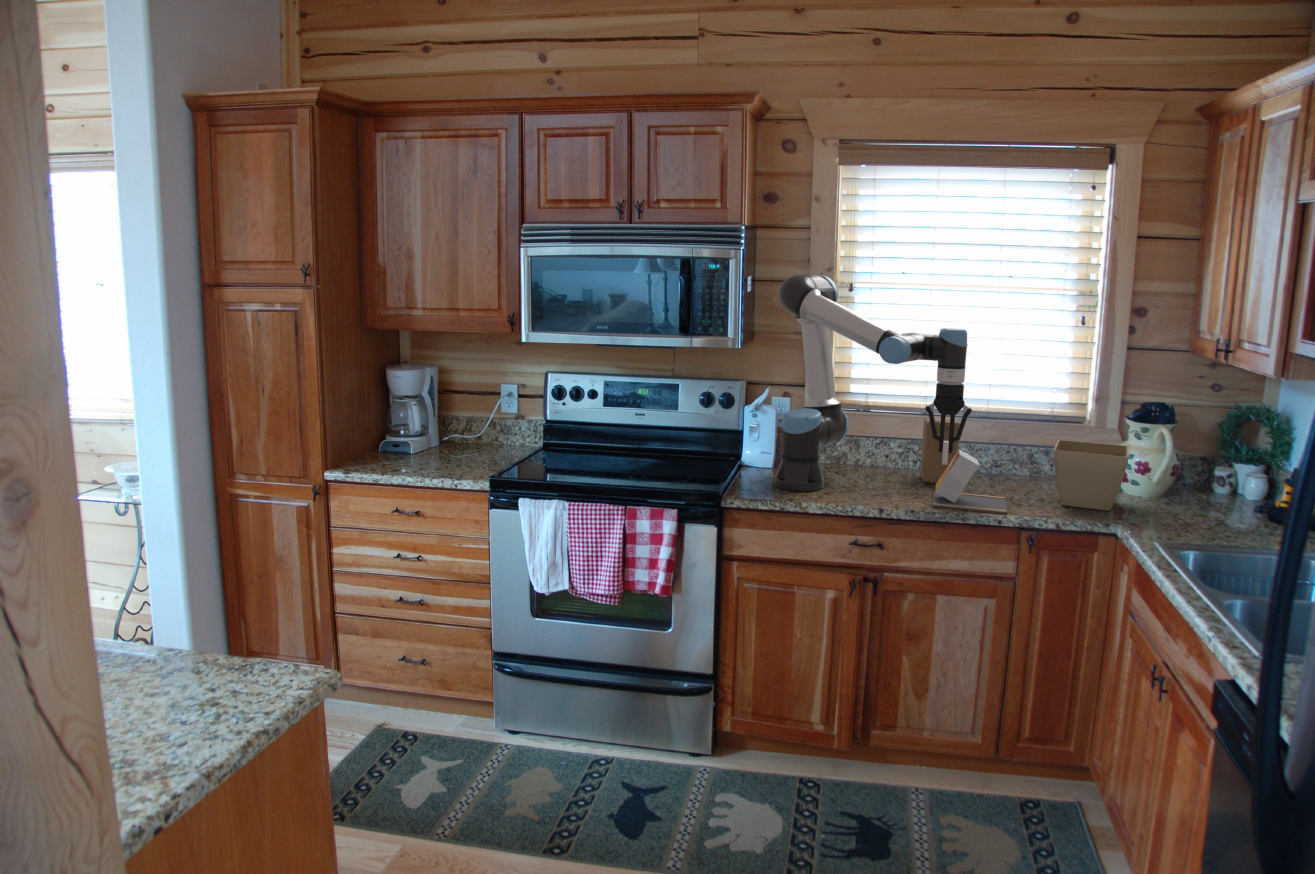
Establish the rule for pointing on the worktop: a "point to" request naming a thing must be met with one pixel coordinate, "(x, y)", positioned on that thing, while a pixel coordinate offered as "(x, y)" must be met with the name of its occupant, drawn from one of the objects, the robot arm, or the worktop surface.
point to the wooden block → (935, 450)
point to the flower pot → (1089, 473)
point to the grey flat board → (972, 503)
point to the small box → (956, 476)
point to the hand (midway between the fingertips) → (944, 463)
